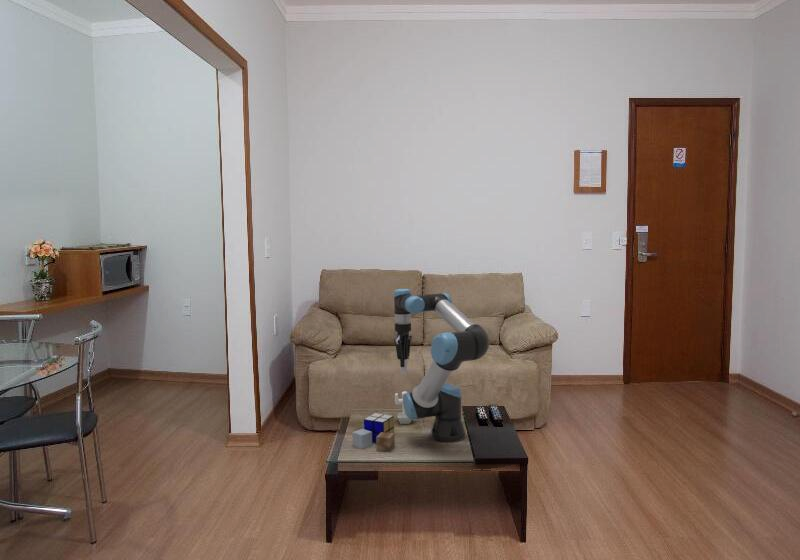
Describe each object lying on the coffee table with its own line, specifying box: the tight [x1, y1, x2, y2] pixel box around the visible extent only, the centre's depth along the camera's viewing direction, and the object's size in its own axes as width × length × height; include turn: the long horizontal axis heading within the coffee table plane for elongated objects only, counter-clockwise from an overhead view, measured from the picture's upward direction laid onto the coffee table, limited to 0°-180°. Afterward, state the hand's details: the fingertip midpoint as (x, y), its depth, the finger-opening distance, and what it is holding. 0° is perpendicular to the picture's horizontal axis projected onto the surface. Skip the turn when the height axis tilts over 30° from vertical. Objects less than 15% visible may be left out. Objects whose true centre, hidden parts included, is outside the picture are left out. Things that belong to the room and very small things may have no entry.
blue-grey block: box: [351, 428, 373, 450], centre depth 249 cm, size 6×6×6 cm
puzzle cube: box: [363, 412, 395, 444], centre depth 256 cm, size 10×10×10 cm
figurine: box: [394, 390, 412, 425], centre depth 277 cm, size 7×9×15 cm
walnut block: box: [375, 432, 396, 453], centre depth 245 cm, size 6×6×6 cm
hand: (403, 373), depth 267 cm, fingers closed
